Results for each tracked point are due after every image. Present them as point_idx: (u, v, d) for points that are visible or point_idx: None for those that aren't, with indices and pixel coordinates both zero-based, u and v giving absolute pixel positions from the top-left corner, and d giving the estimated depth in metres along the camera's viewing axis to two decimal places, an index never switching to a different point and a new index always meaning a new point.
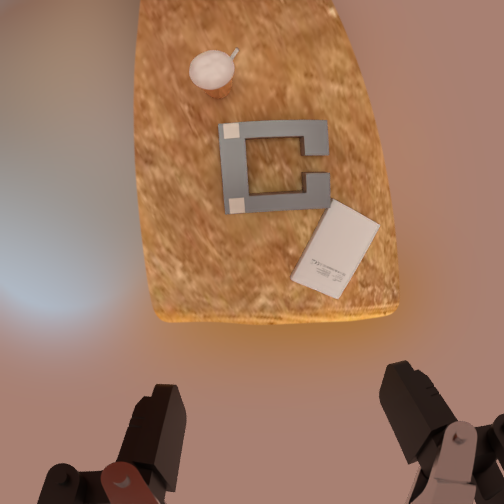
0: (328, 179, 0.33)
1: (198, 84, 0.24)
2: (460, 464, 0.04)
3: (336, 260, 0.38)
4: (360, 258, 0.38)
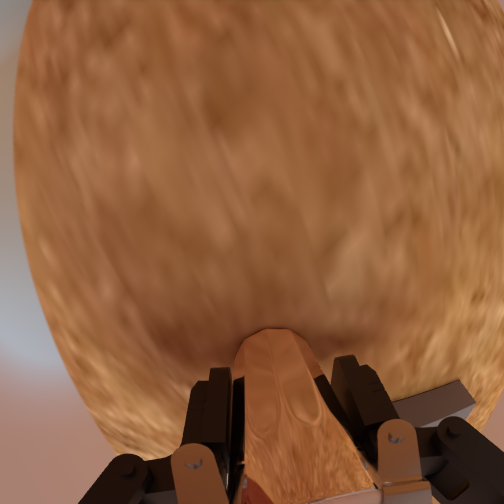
0: None
1: None
2: (405, 462, 0.05)
3: None
4: None
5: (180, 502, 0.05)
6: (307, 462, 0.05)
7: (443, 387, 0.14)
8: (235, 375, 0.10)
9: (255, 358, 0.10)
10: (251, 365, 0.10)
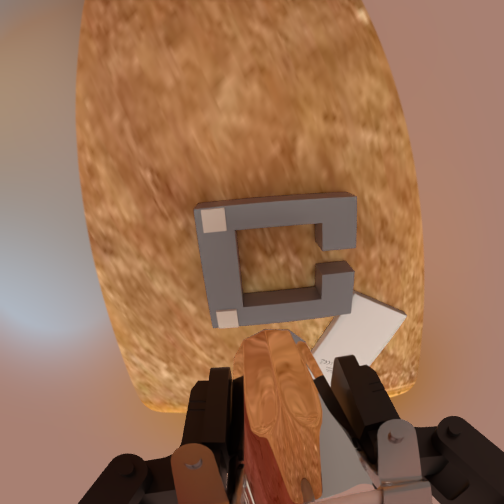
0: (351, 279, 0.24)
1: None
2: (405, 462, 0.05)
3: None
4: (378, 352, 0.30)
5: (180, 502, 0.05)
6: (306, 462, 0.05)
7: None
8: (234, 375, 0.10)
9: (254, 358, 0.10)
10: (250, 365, 0.10)
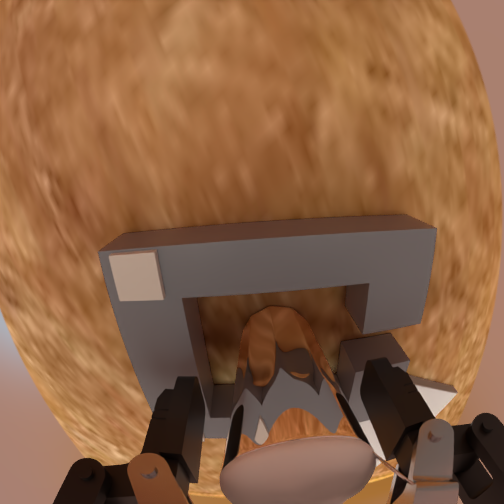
0: None
1: None
2: (439, 462, 0.04)
3: (373, 449, 0.17)
4: None
5: None
6: (295, 407, 0.07)
7: (379, 216, 0.12)
8: (241, 345, 0.12)
9: (259, 329, 0.12)
10: (255, 334, 0.11)
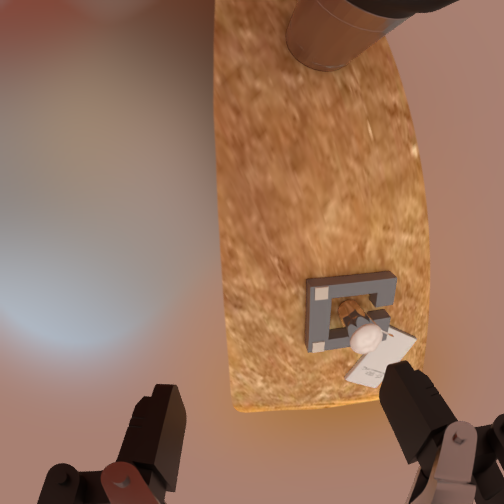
0: (388, 321, 0.39)
1: (356, 352, 0.33)
2: (460, 464, 0.04)
3: (380, 365, 0.44)
4: None
5: None
6: (365, 320, 0.34)
7: (380, 272, 0.39)
8: (341, 312, 0.39)
9: (347, 306, 0.39)
10: (346, 308, 0.38)
